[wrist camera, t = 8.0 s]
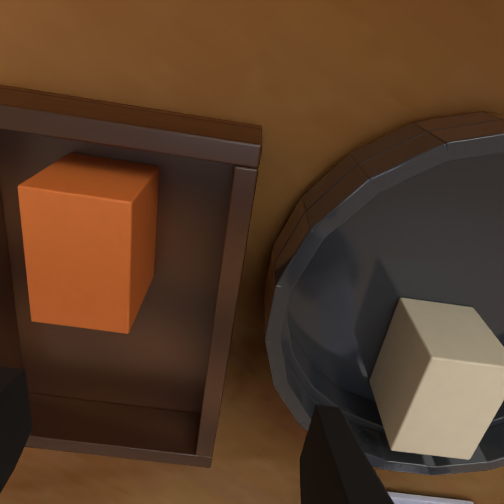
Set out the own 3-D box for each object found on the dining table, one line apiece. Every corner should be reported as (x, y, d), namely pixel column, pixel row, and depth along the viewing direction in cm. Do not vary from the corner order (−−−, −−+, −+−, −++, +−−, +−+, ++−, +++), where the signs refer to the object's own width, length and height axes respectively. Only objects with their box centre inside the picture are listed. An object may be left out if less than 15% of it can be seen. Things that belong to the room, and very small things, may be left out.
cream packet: (435, 389, 21) (470, 460, 18) (368, 380, 21) (390, 451, 18) (473, 306, 19) (522, 369, 15) (399, 296, 19) (431, 357, 15)
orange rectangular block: (153, 277, 19) (128, 334, 15) (74, 266, 18) (30, 322, 15) (159, 165, 16) (132, 202, 13) (69, 151, 16) (16, 185, 13)
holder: (216, 416, 23) (210, 468, 21) (17, 393, 23) (-16, 442, 20) (262, 125, 16) (262, 144, 13) (-25, 80, 16) (-86, 91, 13)
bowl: (522, 424, 23) (567, 491, 20) (243, 390, 22) (241, 453, 19) (696, 144, 16) (811, 174, 13) (303, 80, 15) (315, 93, 12)
